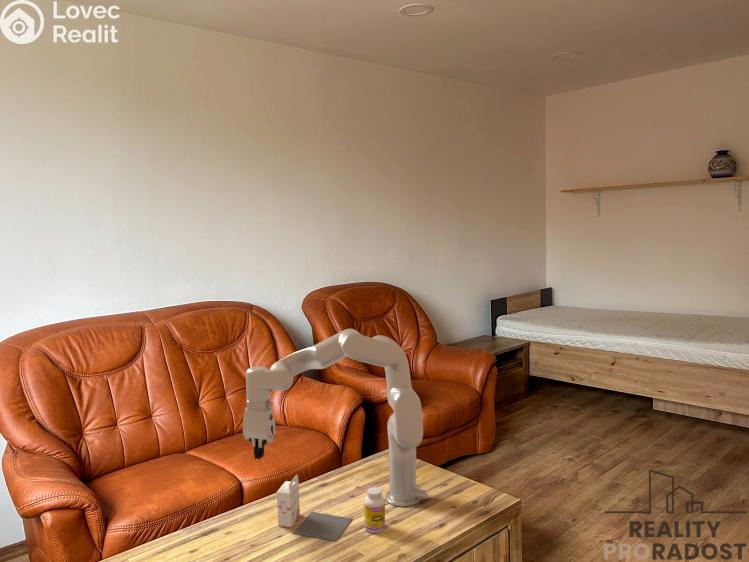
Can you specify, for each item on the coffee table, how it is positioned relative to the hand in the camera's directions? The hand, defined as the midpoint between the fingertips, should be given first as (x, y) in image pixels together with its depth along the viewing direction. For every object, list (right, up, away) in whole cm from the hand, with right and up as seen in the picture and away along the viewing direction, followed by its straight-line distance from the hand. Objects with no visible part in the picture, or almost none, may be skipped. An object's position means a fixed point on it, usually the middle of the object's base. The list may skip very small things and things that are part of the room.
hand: (259, 457), depth 192 cm
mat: (+22, -21, -5) cm, 31 cm away
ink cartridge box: (+10, -21, -1) cm, 23 cm away
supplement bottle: (+39, -21, -7) cm, 45 cm away
